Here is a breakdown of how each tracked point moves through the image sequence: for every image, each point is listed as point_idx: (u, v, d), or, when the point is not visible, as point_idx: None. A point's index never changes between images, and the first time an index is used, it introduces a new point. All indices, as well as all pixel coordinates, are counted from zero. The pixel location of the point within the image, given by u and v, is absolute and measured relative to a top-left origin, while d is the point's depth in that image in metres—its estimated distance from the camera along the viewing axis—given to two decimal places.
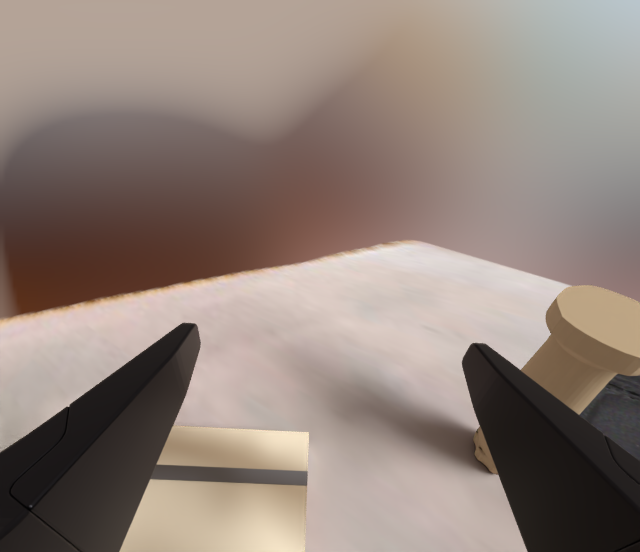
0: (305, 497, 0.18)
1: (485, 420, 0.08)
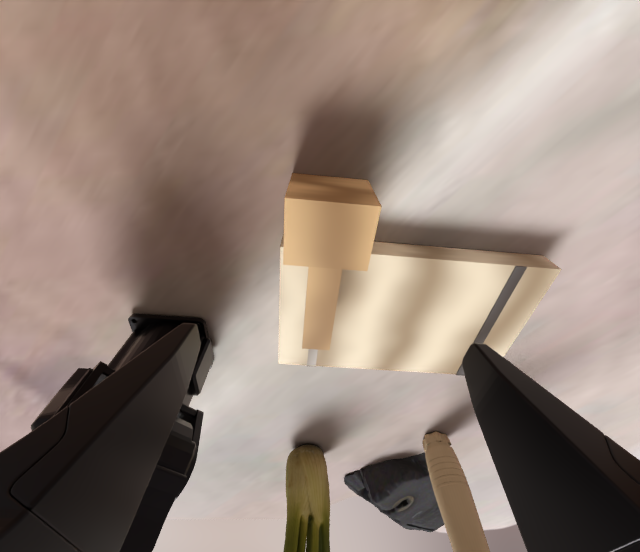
0: (449, 373, 0.27)
1: (485, 420, 0.08)
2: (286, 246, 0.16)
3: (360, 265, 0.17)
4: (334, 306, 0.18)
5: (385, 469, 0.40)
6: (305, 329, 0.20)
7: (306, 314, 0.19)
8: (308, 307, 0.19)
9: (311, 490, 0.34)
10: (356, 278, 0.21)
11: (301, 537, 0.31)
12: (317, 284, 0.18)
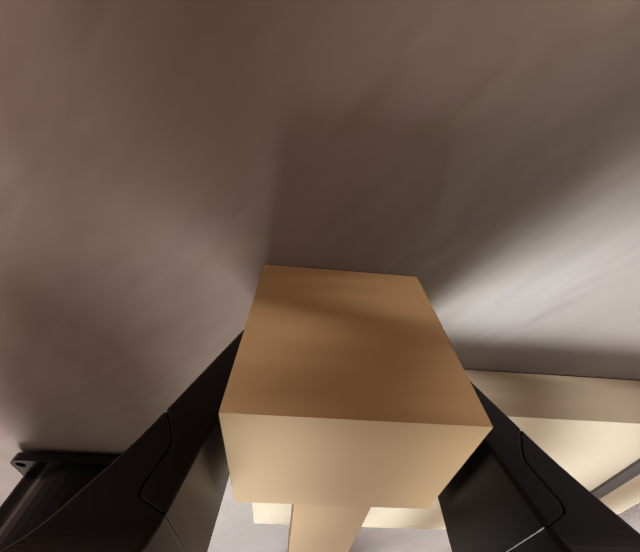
0: None
1: None
2: (238, 481, 0.07)
3: (413, 502, 0.07)
4: (349, 542, 0.09)
5: None
6: None
7: (292, 548, 0.09)
8: (296, 542, 0.09)
9: None
10: None
11: None
12: (314, 521, 0.08)
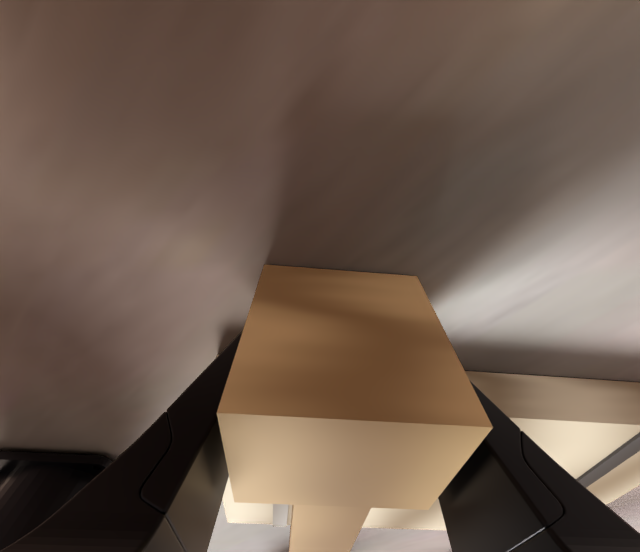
0: None
1: None
2: (237, 481, 0.07)
3: (414, 503, 0.07)
4: (350, 543, 0.09)
5: None
6: None
7: (293, 548, 0.09)
8: (296, 543, 0.09)
9: None
10: None
11: None
12: (314, 522, 0.08)
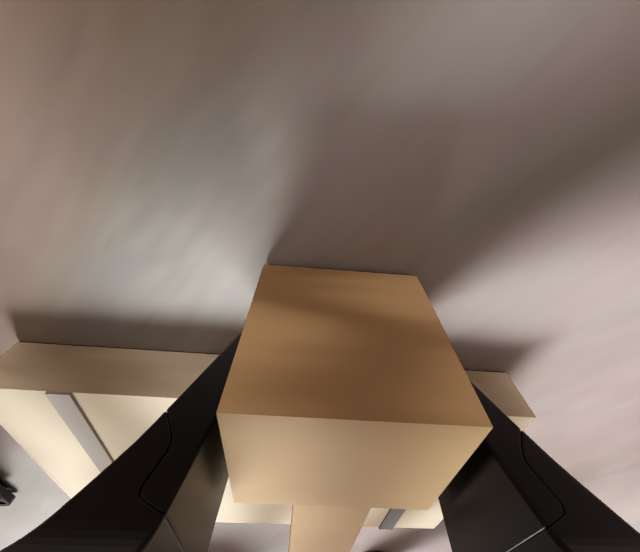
0: (368, 526, 0.17)
1: None
2: (237, 481, 0.07)
3: (414, 503, 0.07)
4: (350, 543, 0.09)
5: None
6: None
7: (293, 548, 0.09)
8: (296, 543, 0.09)
9: None
10: None
11: None
12: (314, 522, 0.08)
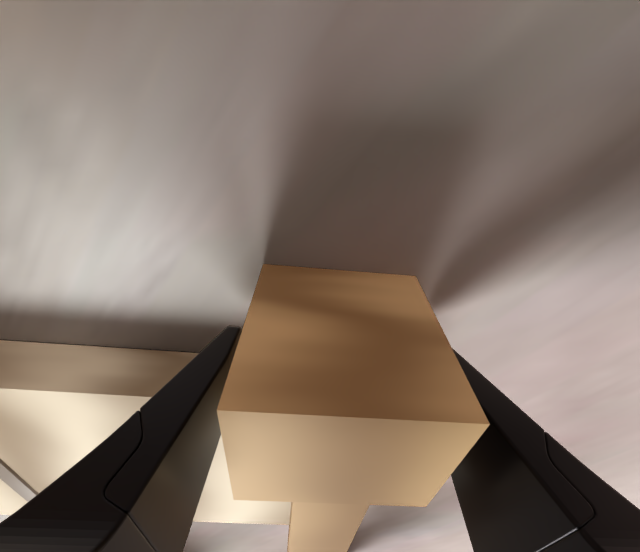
0: (288, 524, 0.17)
1: None
2: (236, 479, 0.07)
3: (412, 500, 0.07)
4: (348, 540, 0.09)
5: None
6: None
7: (291, 546, 0.09)
8: (295, 540, 0.09)
9: None
10: (17, 422, 0.11)
11: None
12: (313, 519, 0.08)
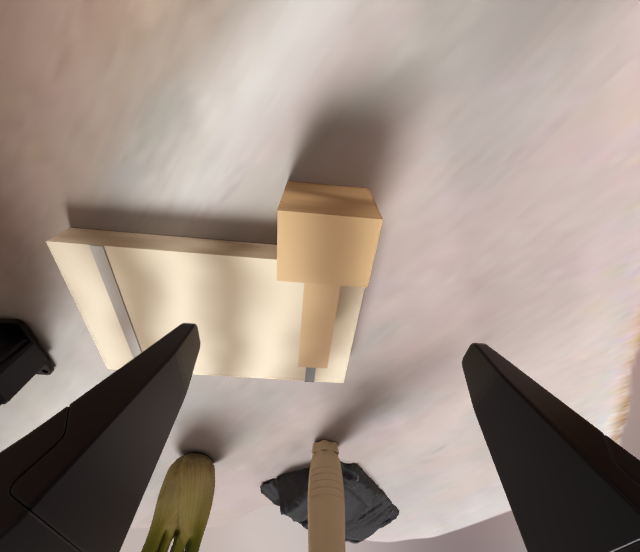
0: (297, 379, 0.25)
1: (485, 420, 0.08)
2: (280, 261, 0.15)
3: (360, 281, 0.16)
4: (332, 323, 0.17)
5: (299, 478, 0.38)
6: (301, 347, 0.18)
7: (302, 332, 0.18)
8: (304, 324, 0.17)
9: (183, 503, 0.32)
10: (147, 276, 0.19)
11: None
12: (313, 301, 0.16)
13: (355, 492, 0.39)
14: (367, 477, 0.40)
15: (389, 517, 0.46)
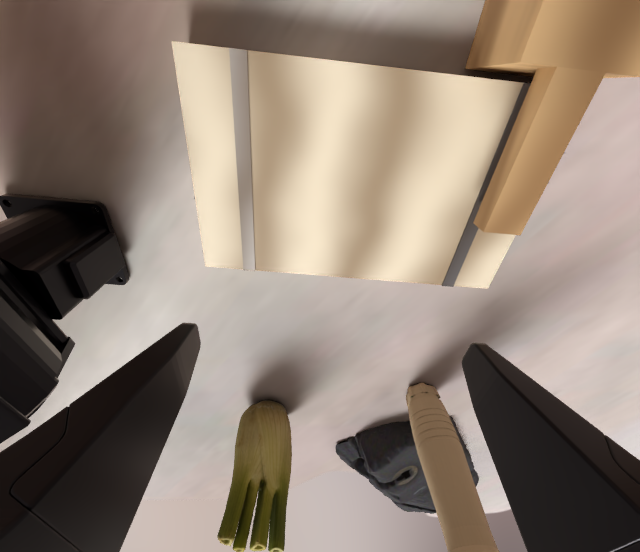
0: (433, 283, 0.20)
1: (485, 420, 0.08)
2: (540, 20, 0.10)
3: (636, 64, 0.11)
4: (562, 150, 0.13)
5: (385, 433, 0.33)
6: (502, 196, 0.14)
7: (514, 166, 0.13)
8: (523, 152, 0.13)
9: (266, 451, 0.27)
10: (292, 108, 0.14)
11: (247, 505, 0.24)
12: (555, 105, 0.12)
13: None
14: (458, 434, 0.35)
15: None
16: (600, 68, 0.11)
